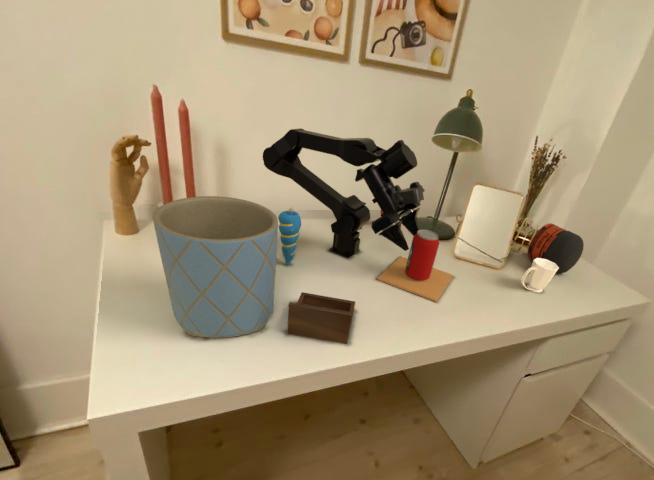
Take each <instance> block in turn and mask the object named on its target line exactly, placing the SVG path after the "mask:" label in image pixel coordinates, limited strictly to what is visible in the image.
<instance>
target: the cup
mask: <svg viewBox="0 0 654 480" xmlns="http://www.w3.org/2000/svg"><path fill="white" fill-rule="evenodd" d="M558 269H559V267H558V266H557V265H556V264H555V263H554V262H551V261H549V260H547V259H542V258H536V259H534V260H532V263H531V267H529V268H528V269H526V270H525V271H524V273H523V275H522V277H521V279H520V282H521V285H522V286H523V288H525V289H526V290H527V291H531V292H534V293H542V292H543V291H544V289H545V288H546V286H547V285H548V284H549V283H550V282H551V280H552V279H553V278H554V276H555V275H556V274H555V273H556V272H557V270H558ZM527 276H528V280H527V283H528V284H527V285H526V284H525V279H526V277H527Z"/></svg>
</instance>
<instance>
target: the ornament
mask: <svg viewBox="0 0 654 480" xmlns="http://www.w3.org/2000/svg"><path fill="white" fill-rule="evenodd" d="M277 219H278V223H279V224H278V231H279V233H280V238H279V239H280V242H281V252H282V256H283V258H284V262H285V264H286V265H287V266H289V265H290V264H291V263H292V261H293V259H294V258H295V255H296V249H297V246H298V240H299V238H300V230H301V228H302V218H301V216H300V214H299V212H297V211H294V208H293V207H292V206H290V207H289V208H288V210H284V211H282V212H280V213H279V215H278V217H277Z"/></svg>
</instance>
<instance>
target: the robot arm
mask: <svg viewBox="0 0 654 480" xmlns="http://www.w3.org/2000/svg"><path fill="white" fill-rule="evenodd" d="M303 149H305V150H311V151H314V152H318V153H324V154H328V155H331V156H335V157H338V158H339V159H340V160H341V161H343V162H345V163H347V164H349V165H352V166H354V167H361V166H365V165H368V164H369V165H368V166H366V167H365V168H358V169H356V175H355V178H354V181H355V182H356V183H358V182H361V181H362V180H363V181H364V182H365V184H366V185H367V188H368V190H369V191H370V193H371V195H372V196H373V198H372V200H371V201H372V203H373V204H377V205H378V207H379V209H380V211H381V210H382V212H383V214H381V213H380V217H378V218H377V219H375V220H373V221H372V222H371V226H370V228H371V230H372V231H373V233H374V235H376V234H378V236H382V237H383V238H385V239H387V240H388V241H390V242H391V243H393V244H394V245H396V246H397V247H399V248H400V249H402V250H403V251H404V252H407V251H409V250H410V248H409V245H408V243H407V240H406V237H405V236H404V233H403V230H402V229H401V228H402V226H403V227H404V228H405V229H406V230H407V231H408V232H409V233H410V234H411V235H412V236H413V237H414V235H415V234H416V233H417V231H418V230H420V226H419V225H420V224H419V222H418V214H419V212H420V210H421V207H420V206H421V205H422V204H421V202H422V201H424V200H425V197H424V193H425V188H423V185H421V184H420V182H419V181H414V182H411V183H410V184H409V187H407V188H402V187H401V186H400V185H399V184H394V182H393V180H392V179H391V178H393V179H394V180H398V179H400V178H401V177H402V176H404V175H405V174H407V173H408V172H410V171H411V170H413V169H415V168H416V167H417V166H418V159H417V156H416V155H415V152H414V151H413V150H412V149H411V148H410V147H409V145H407V144H406V143H405V141H404V140H403V139H400V140H397V141H396V142H395V143H393V145H391V146H390V147H389V148H387V149H385V148H382V147H380V146H378V145H377V144H376V143H375V140H374V139H372V138H370V137H346V138H345V137H344V138H343V137H339V136H334V135H329V134H324V133H320V132H315V131H310V130H306V129H304V128H302V127H301V128H291V129H289V130H288V131H287V132H286V133H285V134H284V135H283V136H282V137H280V138H279V139H278V140H276V141H275V142H274V143H272V144H271V146H269V147H268V146H267V147H266V148H265V149H264V150H263V152H262V161H263V166H264V167H265V168H266V169H267V170H268V171H270V172H272V173H274V174H276V175H277V176H281V177H284V178H288V179H291V180H292V181H293V182H294V183H296V184H297V185H298V186H300V188H302V189H303V190H305V191H306V192H307V193H308V194H310V195H311V196H312V197H313V198H315V199H316V200H317V201H319V202H320V203H321V204H323V205H324V206H325V207H327V209H329V210H330V211H331V212H332V214H333V216H334V218H335V220H336V221H334V222H332V223H330V230H331V233H333V239H332V240H333V241H332V247H329V249H328V251H329V252H332V253H334V254H336V255H339V256H341V257H344V258H345V259H350V258H352V257H354V256H355V255H356V254H359V253H360V251H361V250H360V249H361V248H360V245H361V238H360V235H361V233H360V230H362V229H363V228H364V226H366V225H368V224H369V222H370V221H371V212H370V211H371V210H370V209H369V207H368V206H367V202H364V201H362V200H361V199H360V198H359V197H358V196H357V195H355V194H352V195H350V196H347V197H346V196H344V195H342V194H341V193H340V192H338V191H337V190H336V189H335V188H333V187H332V186H331V185H329V184H328V183H327V182H325V181H324V180H323V179H321V178H320V177H319V176H318V175H317V174H315V173H314V172H312V170H310V169H309V168H307V167H306V166H304V164H302V162H301V161H302V160H300V157H299V155H300V154H301V152H302V150H303ZM376 162H380V163H378V164H374V163H376ZM399 217H400V218H399Z"/></svg>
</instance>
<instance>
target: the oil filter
mask: <svg viewBox="0 0 654 480" xmlns="http://www.w3.org/2000/svg"><path fill="white" fill-rule="evenodd" d="M584 247H585V243H584V240H583V237H581V236H580V235H579V234H577V233H574V232H573V231H570V230H566V229H564V228H562V227H560V226H558V225H556V224H554V223H550V222H549V223H546V224H544V225H543V226H542V227H540V228H539V229H538V230H537V231H536V232H535V234H534V235H533V237H532V238H531V240H530V242H529V244H528V248H527V257H528V259H530V260H532V261H533V260H534V259H536V258H542V259H547V260H549V261H551V262H554V263H555V264H556V265H557V266H558V267H559V269H558V270H557V272H556V273H555V275H561V274H565V273H566V272H568V271H570V270H571V269H572V268H573V267H574V266H576V264H577V263H578V262H579V260H580V259H581V258H582V254H583V252H584Z"/></svg>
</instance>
